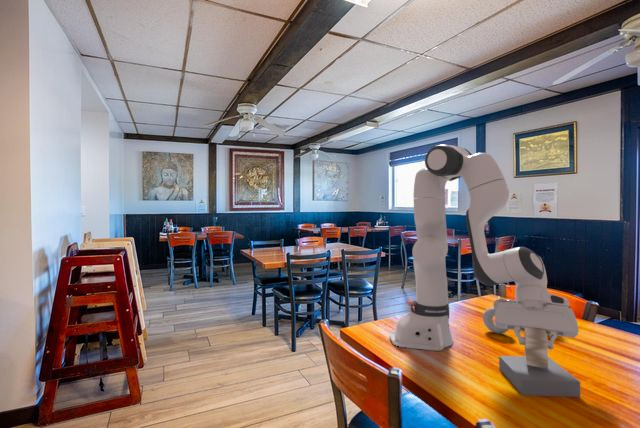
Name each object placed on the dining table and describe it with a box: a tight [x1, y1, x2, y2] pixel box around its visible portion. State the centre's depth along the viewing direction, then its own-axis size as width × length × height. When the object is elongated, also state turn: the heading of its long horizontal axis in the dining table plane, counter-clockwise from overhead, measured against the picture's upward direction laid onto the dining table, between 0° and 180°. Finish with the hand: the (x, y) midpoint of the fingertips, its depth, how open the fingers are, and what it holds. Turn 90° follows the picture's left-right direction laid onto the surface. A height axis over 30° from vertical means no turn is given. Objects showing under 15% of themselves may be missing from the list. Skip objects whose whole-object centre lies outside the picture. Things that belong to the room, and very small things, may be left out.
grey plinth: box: [498, 355, 581, 398], centre depth 92 cm, size 14×14×4 cm
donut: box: [482, 306, 510, 335], centre depth 128 cm, size 10×4×10 cm, turn 45°
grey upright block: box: [523, 327, 549, 368], centre depth 92 cm, size 5×5×9 cm
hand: (535, 346), depth 92 cm, fingers closed on grey upright block, 5 cm apart
